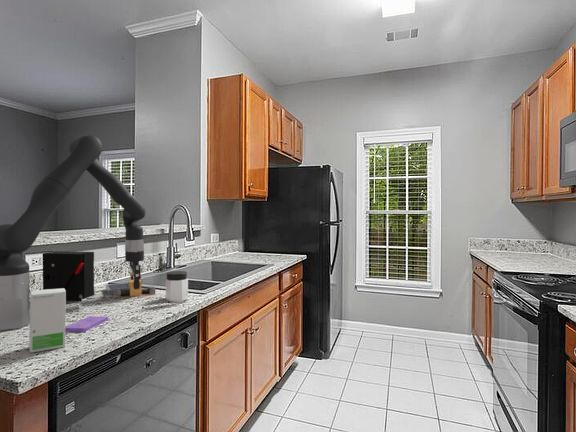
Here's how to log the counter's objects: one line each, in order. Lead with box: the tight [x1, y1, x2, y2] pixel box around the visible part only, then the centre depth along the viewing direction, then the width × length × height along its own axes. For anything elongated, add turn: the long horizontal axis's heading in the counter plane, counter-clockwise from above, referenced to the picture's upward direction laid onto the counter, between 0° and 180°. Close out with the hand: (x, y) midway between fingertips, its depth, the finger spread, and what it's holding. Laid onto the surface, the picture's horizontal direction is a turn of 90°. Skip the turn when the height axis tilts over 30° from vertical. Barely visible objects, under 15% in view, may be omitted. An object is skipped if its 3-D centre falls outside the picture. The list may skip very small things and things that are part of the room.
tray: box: [105, 282, 128, 296], centre depth 161 cm, size 12×12×3 cm
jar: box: [165, 270, 189, 305], centre depth 147 cm, size 9×8×12 cm
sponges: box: [65, 315, 109, 333], centre depth 116 cm, size 7×13×2 cm, turn 175°
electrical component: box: [42, 250, 96, 302], centre depth 150 cm, size 18×10×20 cm, turn 84°
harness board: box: [112, 285, 157, 300], centre depth 153 cm, size 16×10×4 cm, turn 122°
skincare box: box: [28, 288, 67, 354], centre depth 98 cm, size 8×7×16 cm
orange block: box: [127, 279, 142, 296], centre depth 153 cm, size 6×4×6 cm
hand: (135, 287), depth 153 cm, fingers open, 8 cm apart
